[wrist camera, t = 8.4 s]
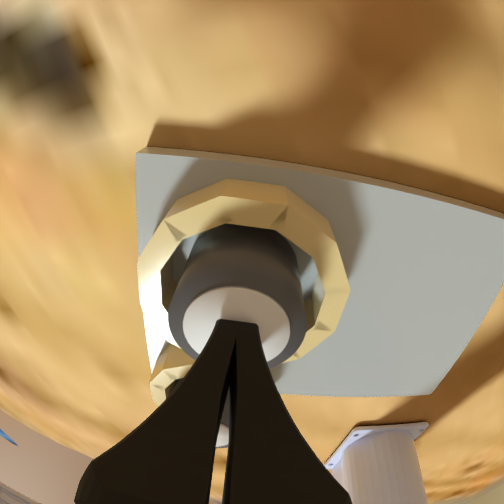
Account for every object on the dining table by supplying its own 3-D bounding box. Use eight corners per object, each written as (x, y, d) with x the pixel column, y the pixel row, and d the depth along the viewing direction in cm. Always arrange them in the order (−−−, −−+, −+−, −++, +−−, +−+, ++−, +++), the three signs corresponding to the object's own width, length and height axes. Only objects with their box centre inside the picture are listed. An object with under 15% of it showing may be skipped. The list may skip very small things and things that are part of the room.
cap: (289, 317, 16) (294, 380, 12) (189, 308, 16) (172, 369, 12) (306, 226, 13) (320, 280, 10) (187, 215, 13) (161, 266, 10)
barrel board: (412, 400, 22) (427, 455, 17) (159, 382, 21) (141, 445, 17) (517, 218, 14) (573, 268, 9) (146, 146, 13) (85, 187, 8)
